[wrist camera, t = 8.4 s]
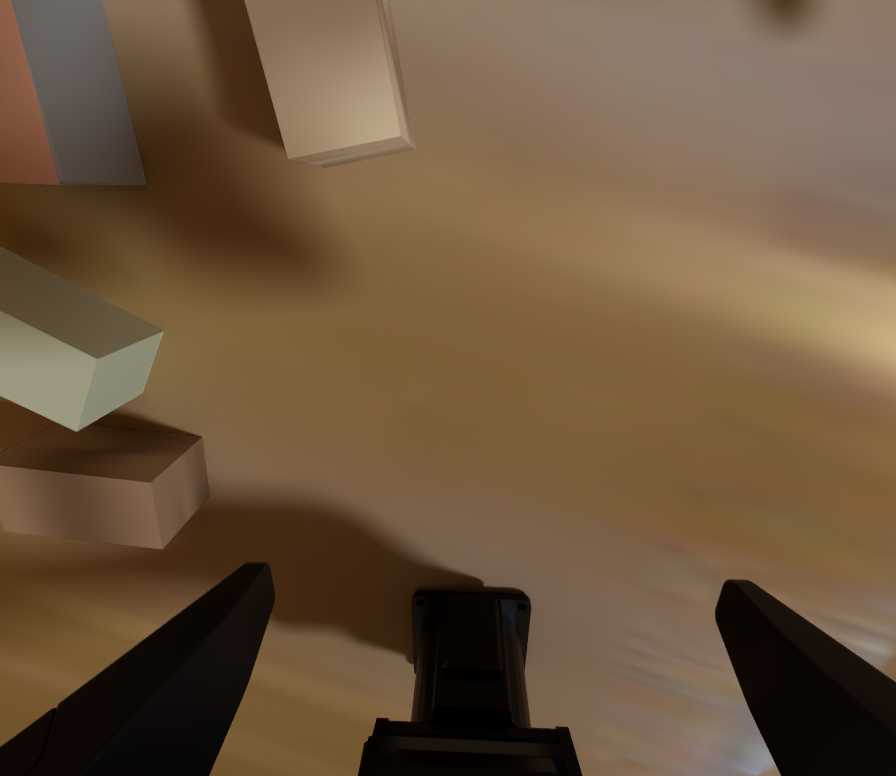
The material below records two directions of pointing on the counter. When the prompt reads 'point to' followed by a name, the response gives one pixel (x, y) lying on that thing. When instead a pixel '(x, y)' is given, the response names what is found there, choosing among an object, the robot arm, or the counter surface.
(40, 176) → the terracotta block
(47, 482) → the walnut block
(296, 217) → the counter surface
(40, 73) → the slate block
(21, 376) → the sage block
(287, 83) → the birch block
